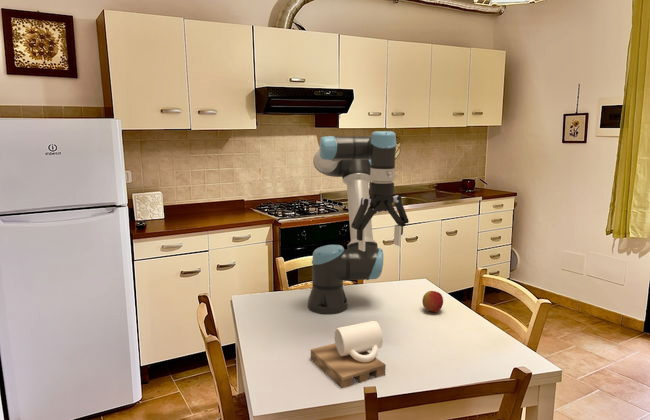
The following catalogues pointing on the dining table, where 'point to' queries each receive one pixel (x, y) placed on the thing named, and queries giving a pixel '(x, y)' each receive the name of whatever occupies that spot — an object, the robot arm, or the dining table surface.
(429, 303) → the apple
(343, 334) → the mug
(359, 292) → the dining table surface
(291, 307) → the dining table surface
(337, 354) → the wooden pallet
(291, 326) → the dining table surface
